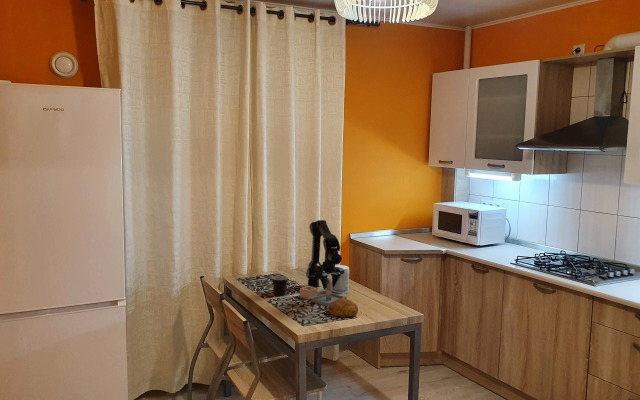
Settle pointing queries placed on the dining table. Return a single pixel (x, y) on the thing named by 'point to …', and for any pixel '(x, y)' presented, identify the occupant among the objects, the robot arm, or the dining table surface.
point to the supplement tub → (342, 281)
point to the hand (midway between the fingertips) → (329, 288)
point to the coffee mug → (279, 285)
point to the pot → (308, 292)
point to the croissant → (343, 308)
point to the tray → (323, 301)
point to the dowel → (329, 290)
